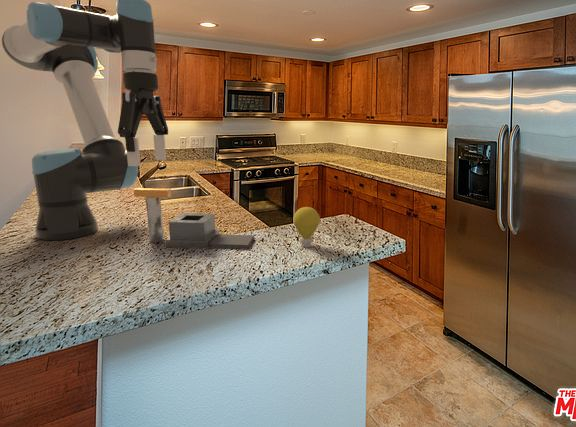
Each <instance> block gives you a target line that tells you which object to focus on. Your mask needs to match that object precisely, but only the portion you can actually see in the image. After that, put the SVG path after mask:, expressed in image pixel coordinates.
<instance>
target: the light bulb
mask: <svg viewBox="0 0 576 427" xmlns="http://www.w3.org/2000/svg"><path fill="white" fill-rule="evenodd" d="M292 220H293V221H292V222H293V225H294V226H295V229H296V231H297V232H298V234H299V235H300V237H299V242H300V243H301V247H304V248H309V247H311V246H312V243H313V241H314V239H313V235H314V233H315V232H316V230H317V228H318V226H319V225H320V222H321V217H320V214H319V213H318V212H317V210H316V209H314V208H313V207H310V206H305V207H304V206H303V207H300V208H299V209H297V211H295V213H294V214H293V218H292Z"/></svg>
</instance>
